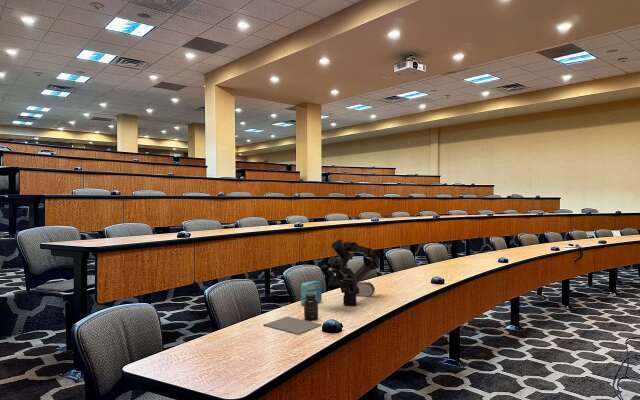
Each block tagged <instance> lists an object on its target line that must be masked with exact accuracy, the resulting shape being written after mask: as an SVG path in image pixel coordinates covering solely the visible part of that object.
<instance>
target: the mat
mask: <svg viewBox="0 0 640 400" xmlns="http://www.w3.org/2000/svg"><path fill="white" fill-rule="evenodd" d="M321 325H322V326H323V324H322V323H317V322H313V321H307V320H305V319H300V318H295V317H290V316H285V317H282V318H278V319H275V320H273V321H270V322H266V323H264V324H263V327H266V328H271V329H275V330H279V331H283V332H287V333H290V334H295V335H298V336H299V335H301V334H304V333H307V332H309V331H312V330H314V329H317V328H319V327H318V326H320V327H321ZM316 327H317V328H316ZM313 328H314V329H313ZM311 329H312V330H311Z"/></svg>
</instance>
